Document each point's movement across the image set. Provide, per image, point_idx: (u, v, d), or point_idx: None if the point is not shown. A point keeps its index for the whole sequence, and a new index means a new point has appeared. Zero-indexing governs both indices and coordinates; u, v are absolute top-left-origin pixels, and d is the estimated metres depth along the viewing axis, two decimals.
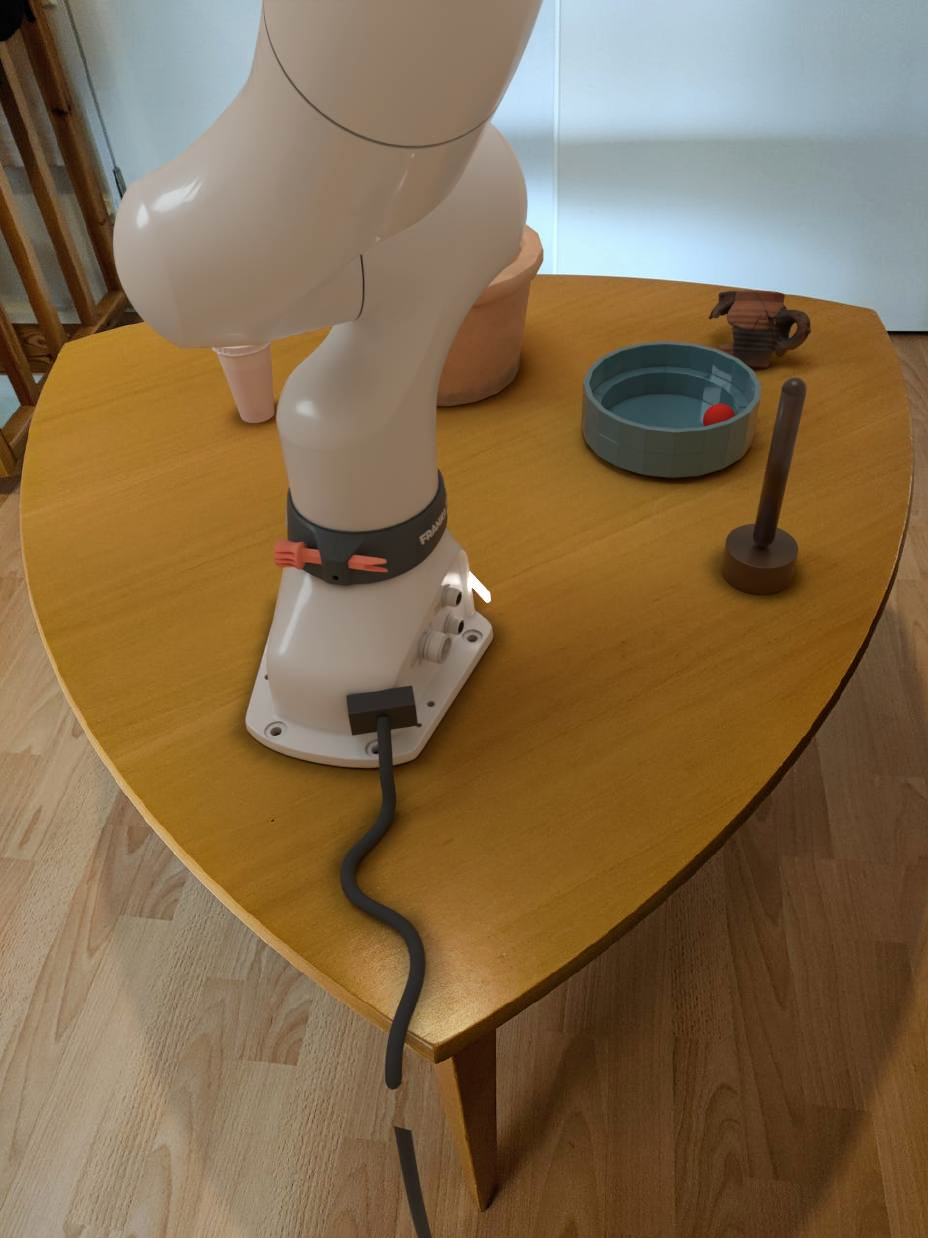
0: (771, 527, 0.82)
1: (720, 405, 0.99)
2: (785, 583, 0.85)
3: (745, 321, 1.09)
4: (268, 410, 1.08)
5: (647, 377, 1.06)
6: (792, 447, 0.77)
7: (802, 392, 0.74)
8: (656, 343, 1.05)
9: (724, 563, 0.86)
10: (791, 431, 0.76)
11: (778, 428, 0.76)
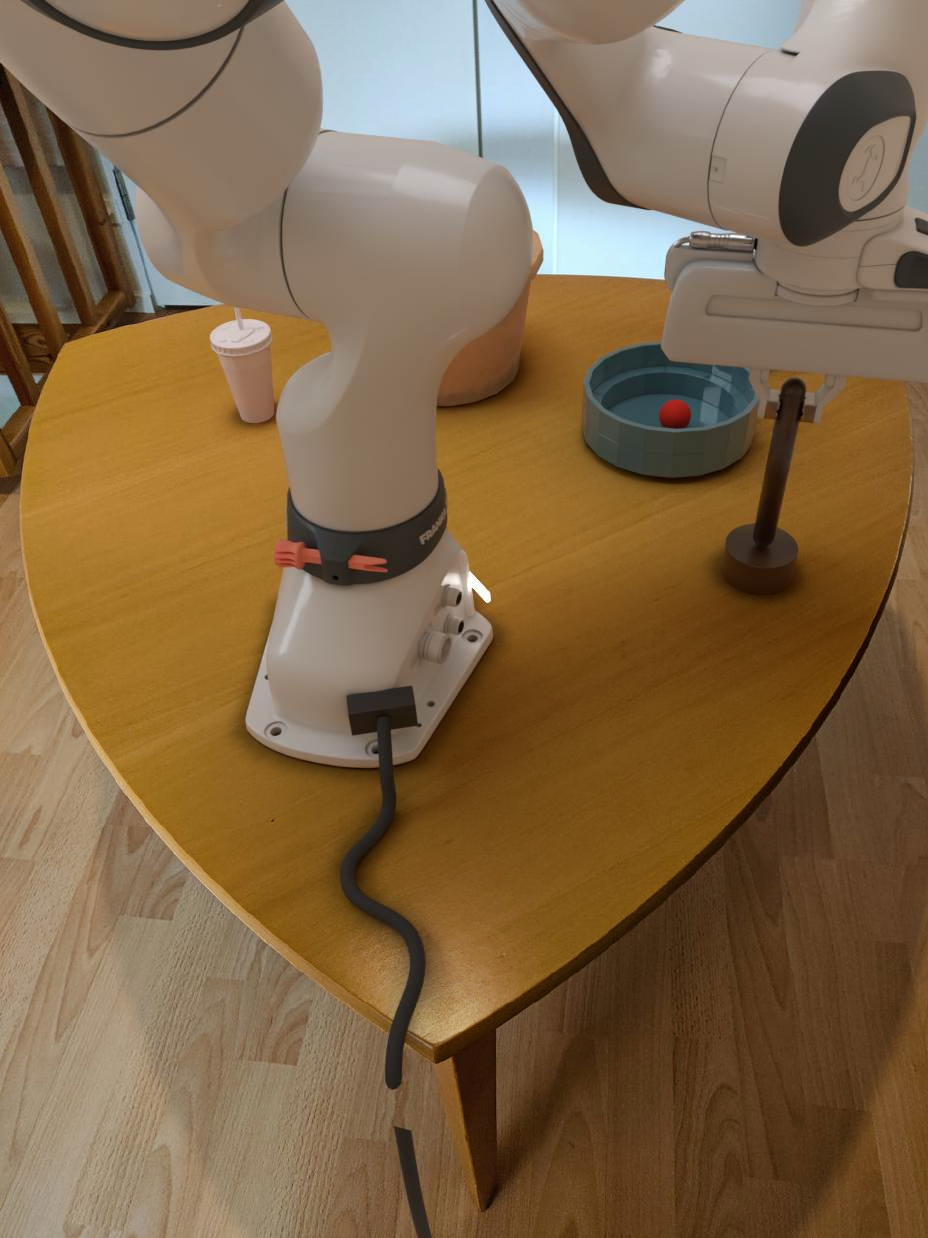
0: (771, 527, 0.82)
1: None
2: (785, 583, 0.85)
3: None
4: (268, 410, 1.08)
5: (647, 377, 1.06)
6: (792, 447, 0.77)
7: (801, 392, 0.74)
8: (656, 343, 1.05)
9: (724, 563, 0.86)
10: (790, 431, 0.76)
11: (777, 428, 0.76)
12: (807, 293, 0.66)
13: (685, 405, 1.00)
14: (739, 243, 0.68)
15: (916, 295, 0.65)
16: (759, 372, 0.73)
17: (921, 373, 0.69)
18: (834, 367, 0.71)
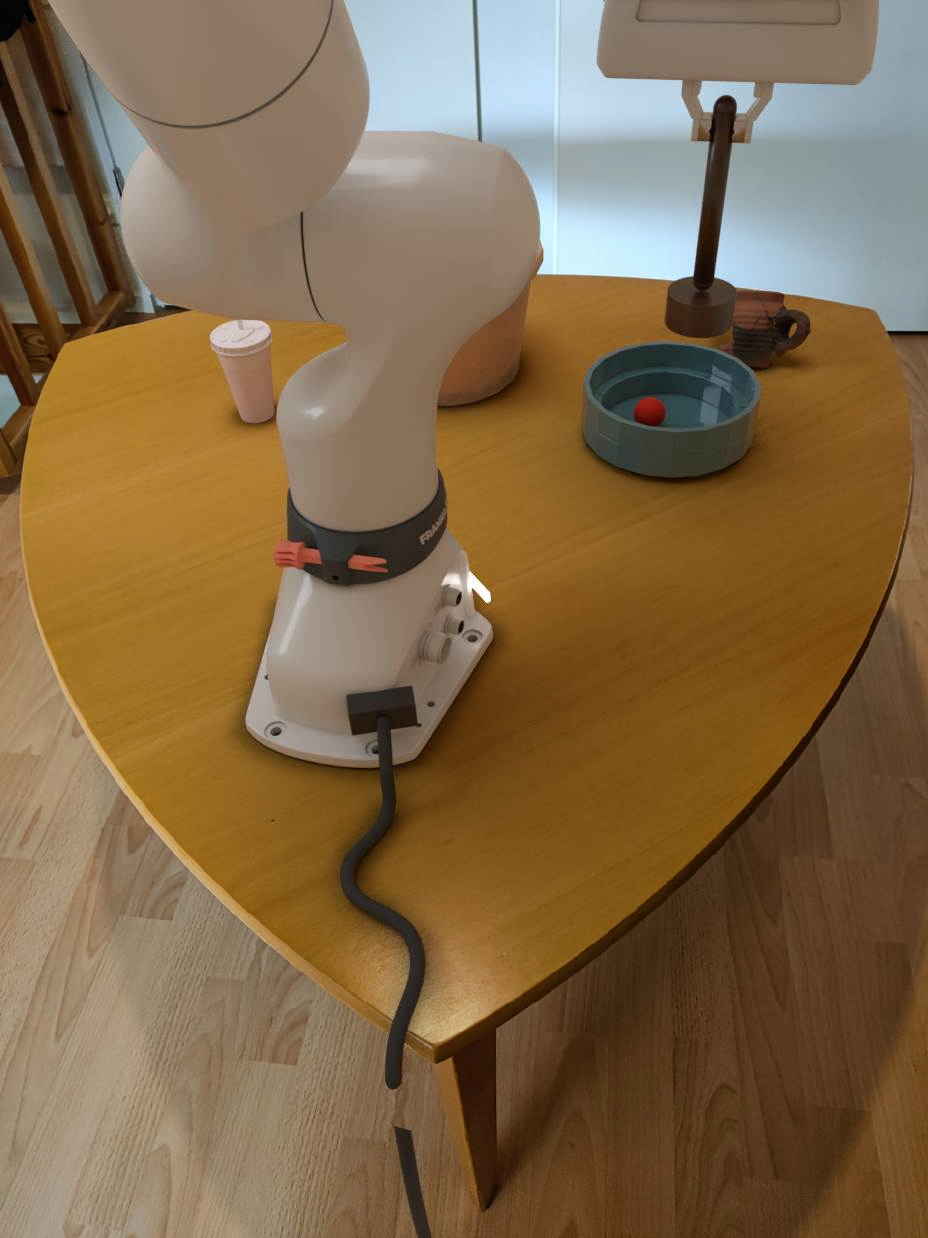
0: (709, 266, 0.85)
1: None
2: (724, 327, 0.88)
3: (745, 321, 1.09)
4: (268, 410, 1.08)
5: (647, 377, 1.06)
6: (725, 172, 0.80)
7: (732, 108, 0.77)
8: (656, 343, 1.05)
9: (666, 311, 0.89)
10: (723, 153, 0.79)
11: (711, 151, 0.79)
12: None
13: (637, 403, 1.01)
14: None
15: None
16: (690, 86, 0.76)
17: (842, 72, 0.72)
18: (760, 72, 0.74)
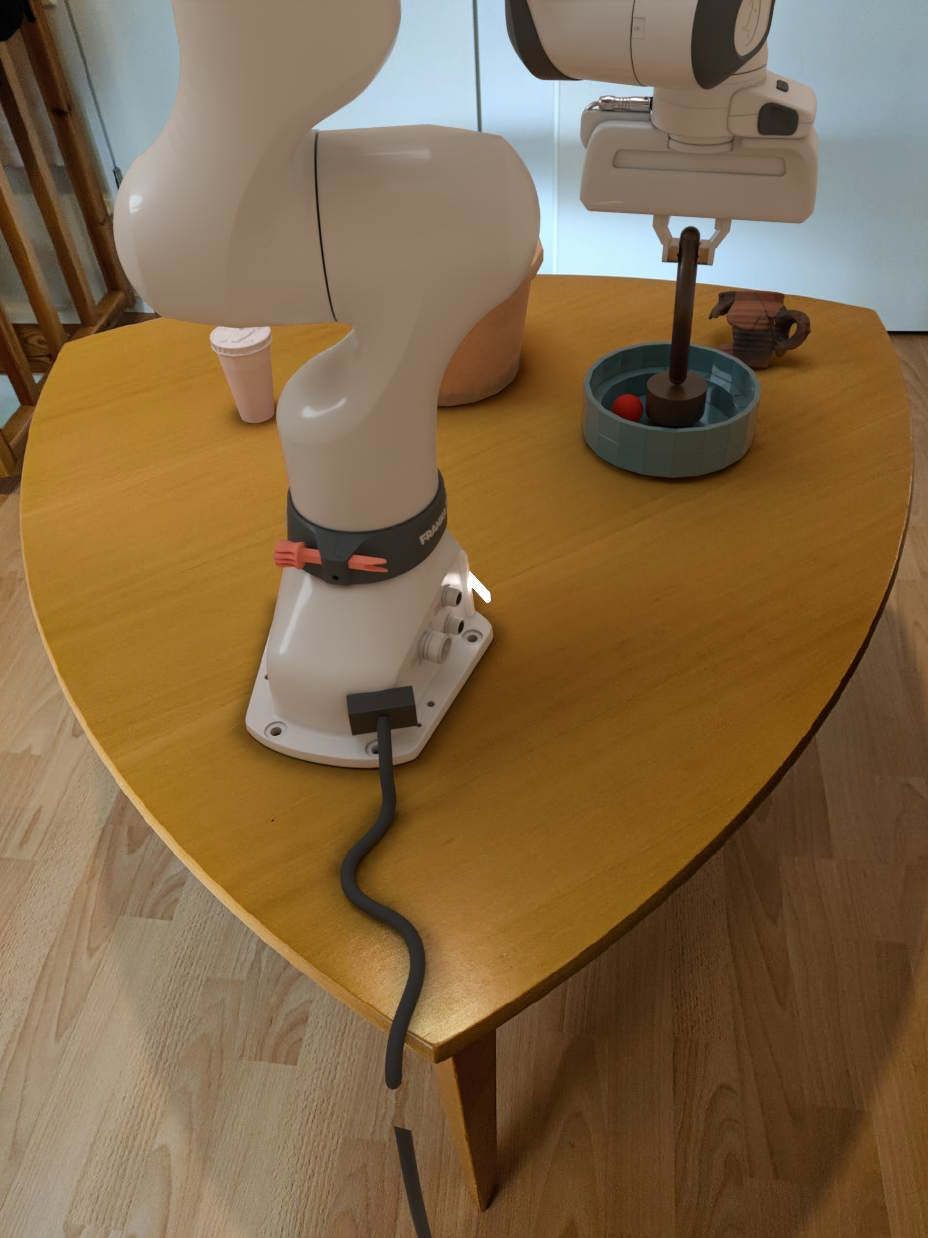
0: (682, 365, 0.98)
1: (636, 397, 1.01)
2: (698, 416, 1.00)
3: (745, 321, 1.09)
4: (268, 410, 1.08)
5: (647, 377, 1.06)
6: (693, 289, 0.93)
7: (696, 237, 0.89)
8: (656, 343, 1.05)
9: (646, 402, 1.01)
10: (690, 274, 0.92)
11: (679, 271, 0.92)
12: (691, 143, 0.82)
13: None
14: (638, 104, 0.83)
15: (777, 142, 0.80)
16: (660, 219, 0.89)
17: (788, 213, 0.85)
18: (719, 211, 0.86)
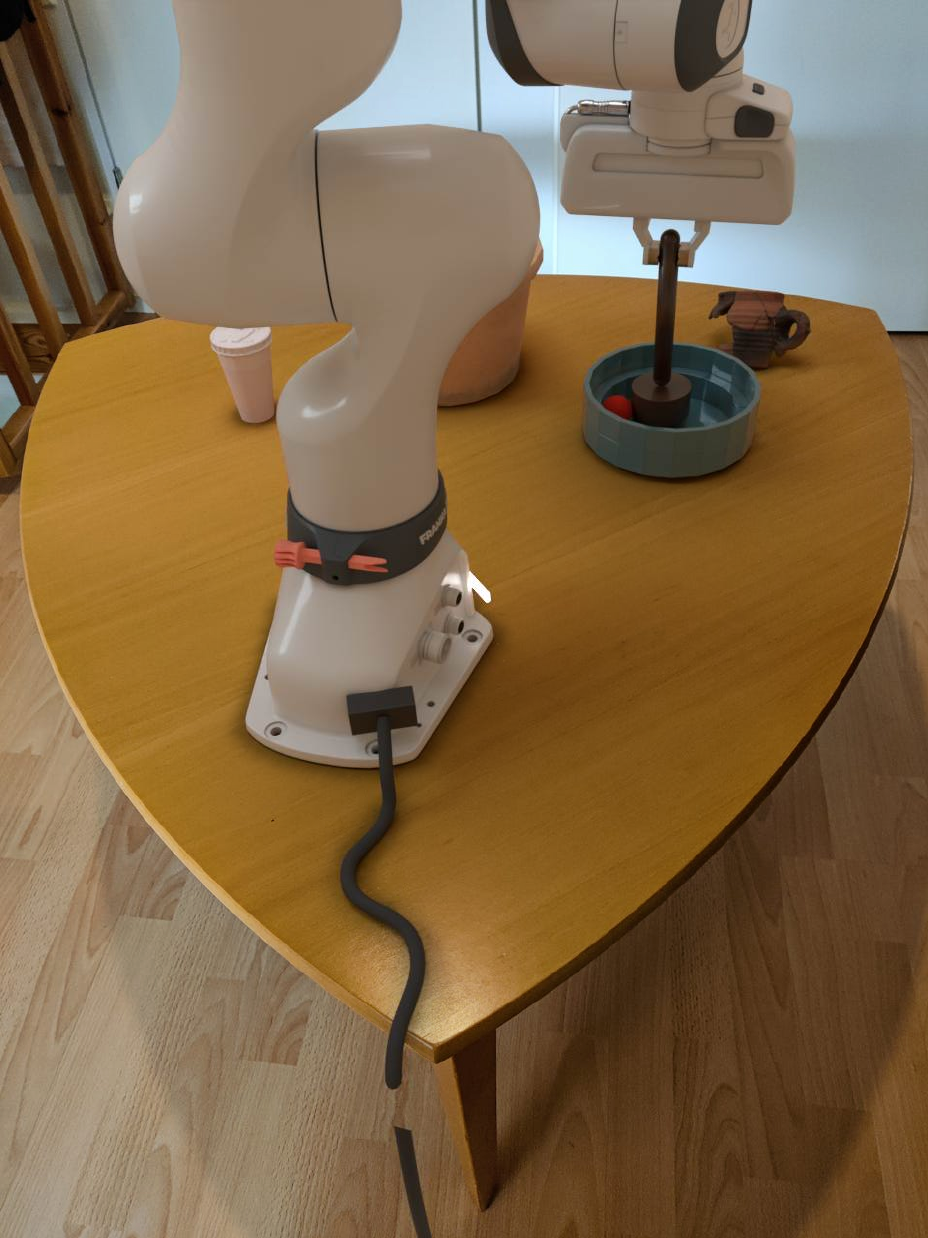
0: (666, 366, 0.99)
1: (614, 398, 1.01)
2: (682, 416, 1.01)
3: (745, 321, 1.09)
4: (268, 410, 1.08)
5: None
6: (674, 291, 0.93)
7: (676, 240, 0.90)
8: None
9: (631, 403, 1.02)
10: (671, 276, 0.92)
11: (660, 274, 0.93)
12: (669, 145, 0.83)
13: None
14: (616, 108, 0.84)
15: (754, 144, 0.81)
16: (640, 222, 0.89)
17: (766, 215, 0.86)
18: (698, 213, 0.87)
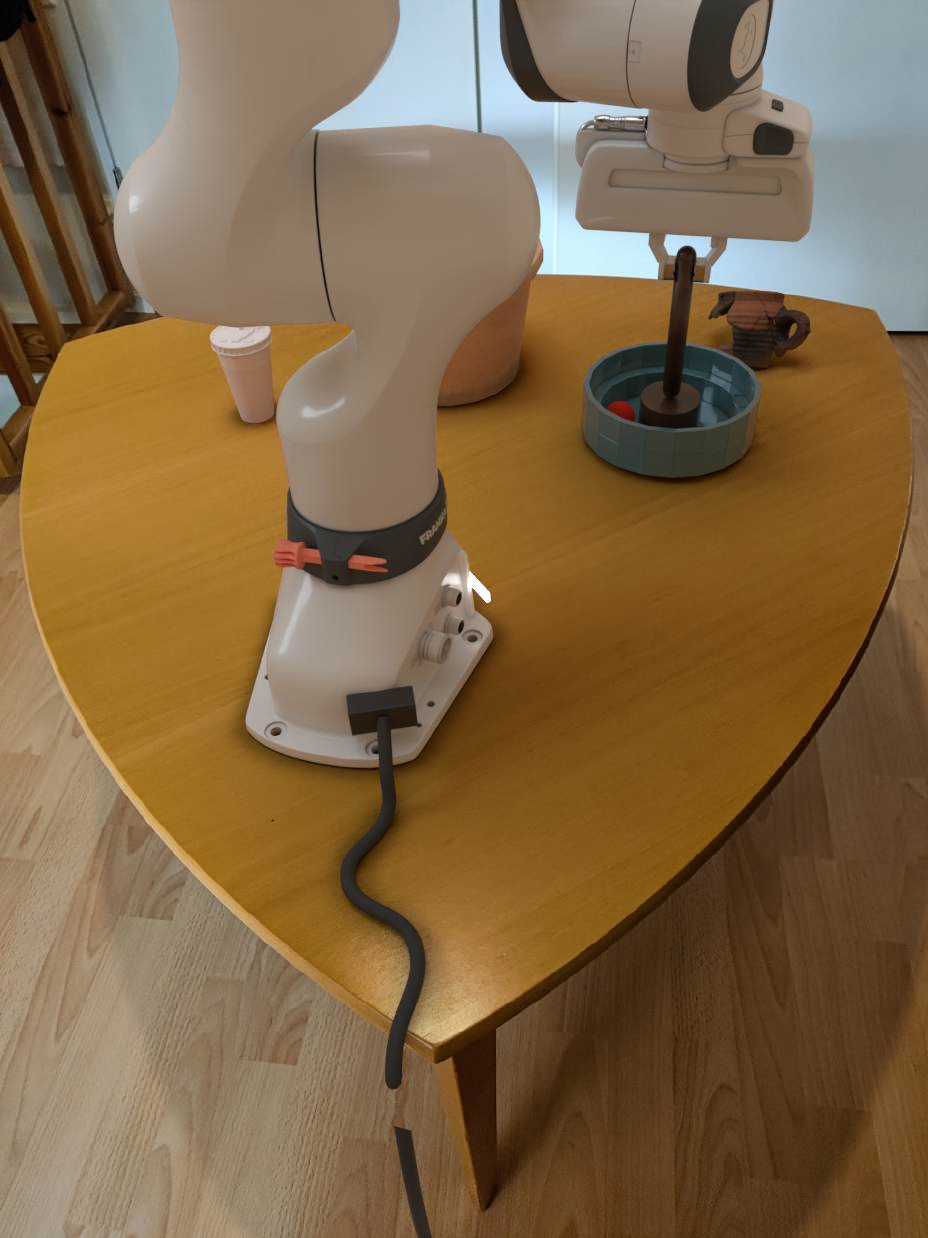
0: (674, 379, 0.98)
1: (619, 411, 1.00)
2: None
3: (745, 321, 1.09)
4: (268, 410, 1.08)
5: (647, 377, 1.06)
6: (686, 307, 0.93)
7: (691, 258, 0.89)
8: (656, 343, 1.05)
9: (639, 410, 1.02)
10: (683, 293, 0.92)
11: (674, 289, 0.92)
12: (686, 162, 0.82)
13: None
14: (633, 123, 0.83)
15: (772, 162, 0.80)
16: (656, 237, 0.88)
17: (784, 232, 0.85)
18: (715, 230, 0.86)
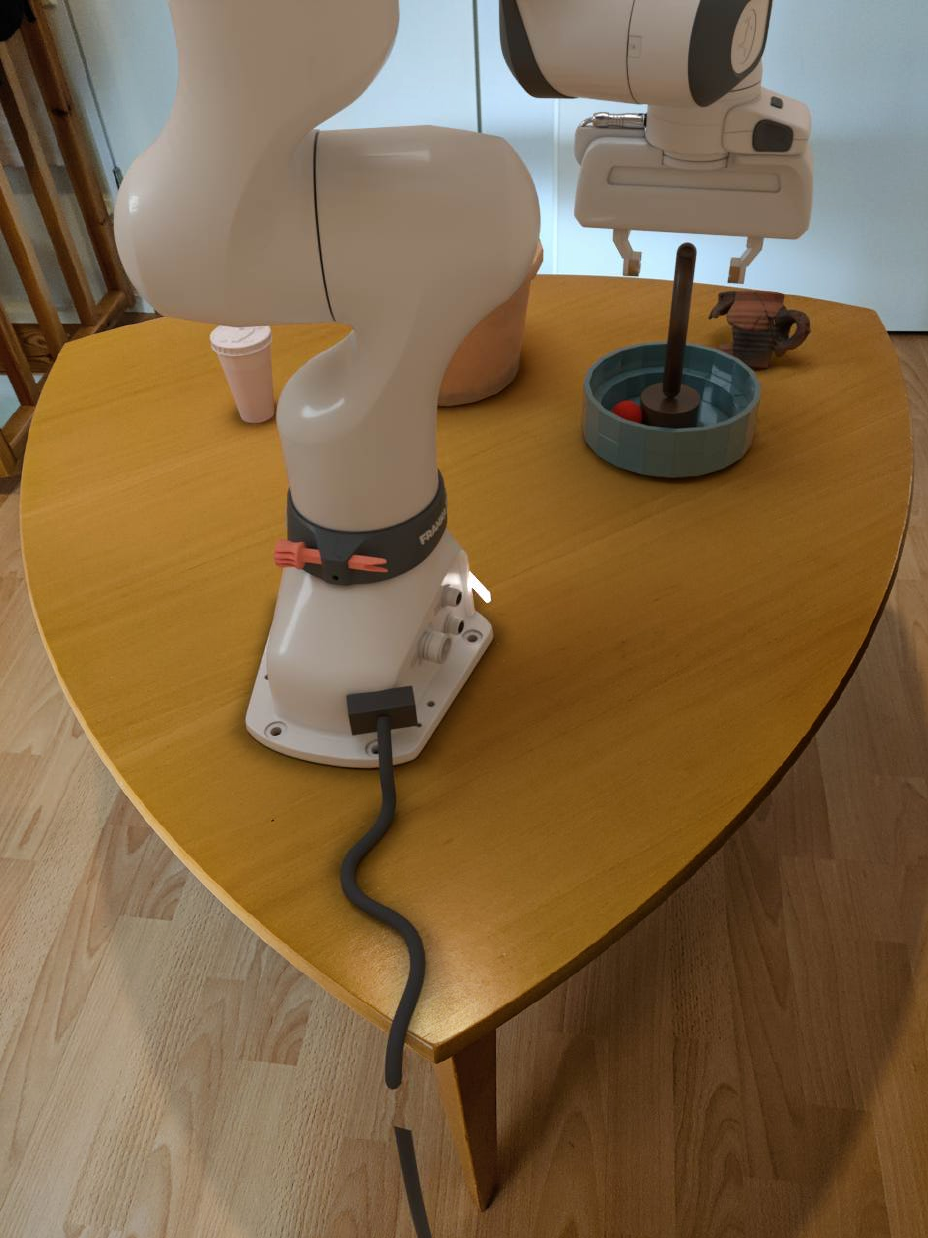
0: (674, 379, 0.99)
1: (632, 411, 1.00)
2: None
3: (745, 321, 1.09)
4: (268, 410, 1.08)
5: (647, 377, 1.06)
6: (686, 305, 0.93)
7: (691, 254, 0.90)
8: (656, 343, 1.05)
9: None
10: (684, 290, 0.92)
11: (674, 286, 0.93)
12: (685, 159, 0.81)
13: None
14: (632, 121, 0.83)
15: (772, 159, 0.80)
16: (620, 233, 0.89)
17: (783, 230, 0.84)
18: (714, 227, 0.86)
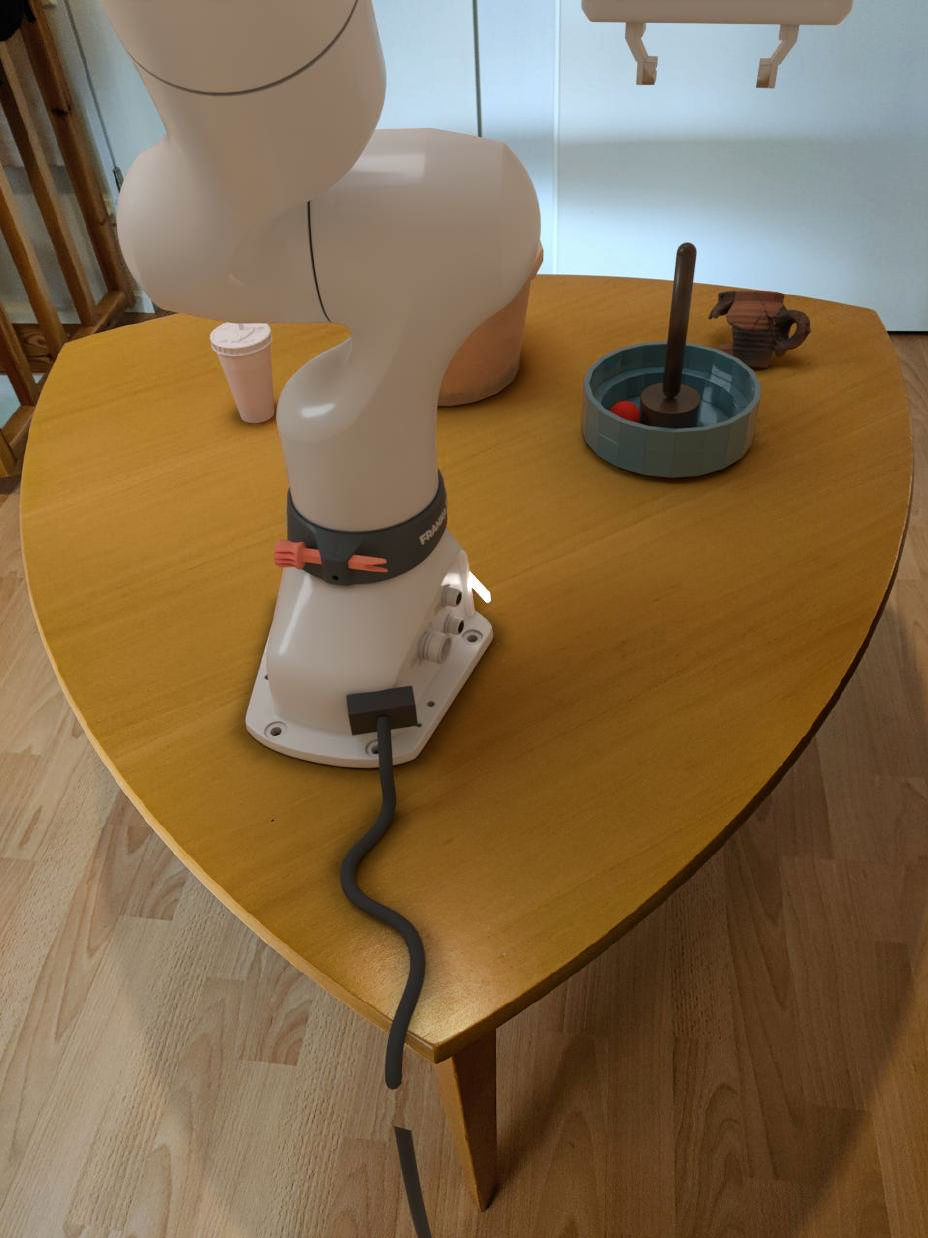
0: (674, 379, 0.99)
1: (628, 411, 1.00)
2: None
3: (745, 321, 1.09)
4: (268, 410, 1.08)
5: (647, 377, 1.06)
6: (686, 305, 0.93)
7: (691, 254, 0.90)
8: (656, 343, 1.05)
9: (639, 411, 1.03)
10: (684, 290, 0.92)
11: (674, 286, 0.93)
12: None
13: None
14: None
15: None
16: (634, 28, 0.78)
17: (823, 12, 0.73)
18: (742, 13, 0.75)
